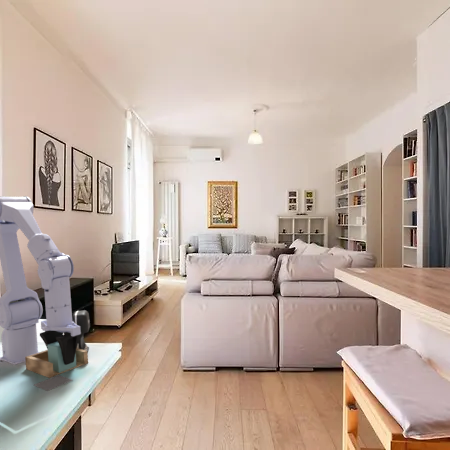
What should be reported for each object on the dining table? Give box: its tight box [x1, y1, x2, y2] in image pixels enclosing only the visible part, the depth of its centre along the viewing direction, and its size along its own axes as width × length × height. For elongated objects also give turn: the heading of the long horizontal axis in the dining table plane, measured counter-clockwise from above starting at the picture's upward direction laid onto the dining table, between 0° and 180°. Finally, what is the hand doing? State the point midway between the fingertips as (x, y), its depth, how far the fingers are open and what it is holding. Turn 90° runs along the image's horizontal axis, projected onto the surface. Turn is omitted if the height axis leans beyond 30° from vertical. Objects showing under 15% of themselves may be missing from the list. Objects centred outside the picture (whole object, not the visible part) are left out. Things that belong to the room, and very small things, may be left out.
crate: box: [25, 348, 89, 379], centre depth 94 cm, size 11×10×3 cm
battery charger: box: [72, 309, 91, 354], centre depth 103 cm, size 7×4×11 cm, turn 15°
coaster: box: [33, 374, 74, 392], centre depth 83 cm, size 6×6×1 cm
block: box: [47, 342, 76, 373], centre depth 92 cm, size 4×4×6 cm
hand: (62, 361), depth 92 cm, fingers open, 5 cm apart
